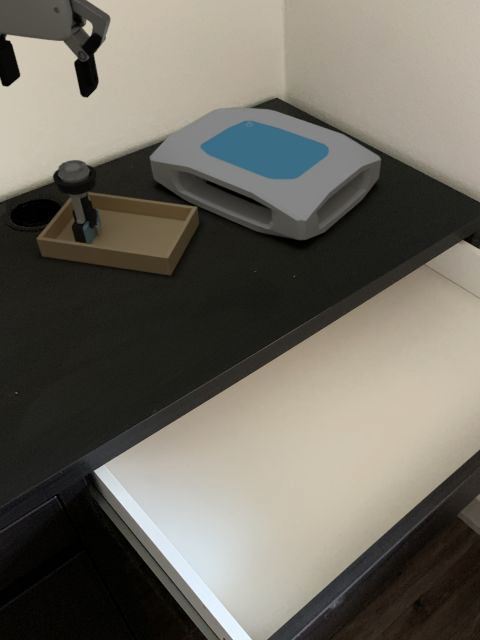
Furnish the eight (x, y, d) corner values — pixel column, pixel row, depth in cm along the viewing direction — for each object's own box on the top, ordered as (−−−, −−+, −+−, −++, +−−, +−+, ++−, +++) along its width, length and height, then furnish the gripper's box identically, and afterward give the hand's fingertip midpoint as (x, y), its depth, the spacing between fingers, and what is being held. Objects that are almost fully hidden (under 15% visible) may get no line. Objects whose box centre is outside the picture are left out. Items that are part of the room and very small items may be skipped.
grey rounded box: (302, 252, 90) (303, 212, 86) (151, 187, 101) (144, 148, 96) (380, 185, 102) (384, 147, 97) (237, 133, 112) (235, 96, 108)
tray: (41, 256, 89) (35, 238, 87) (80, 207, 97) (75, 190, 95) (170, 275, 87) (168, 258, 85) (199, 223, 95) (197, 206, 92)
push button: (81, 216, 94) (63, 150, 87) (117, 219, 94) (102, 153, 86) (64, 243, 90) (44, 176, 82) (102, 247, 89) (86, 179, 82)
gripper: (106, -93, 66) (133, 83, 79) (-53, -109, 68) (-2, 65, 80) (74, -73, 61) (107, 111, 74) (-98, -92, 63) (-36, 91, 76)
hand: (50, 87), depth 77 cm, fingers open, 9 cm apart
